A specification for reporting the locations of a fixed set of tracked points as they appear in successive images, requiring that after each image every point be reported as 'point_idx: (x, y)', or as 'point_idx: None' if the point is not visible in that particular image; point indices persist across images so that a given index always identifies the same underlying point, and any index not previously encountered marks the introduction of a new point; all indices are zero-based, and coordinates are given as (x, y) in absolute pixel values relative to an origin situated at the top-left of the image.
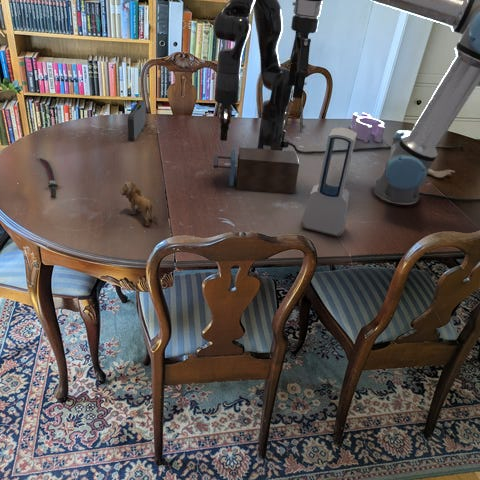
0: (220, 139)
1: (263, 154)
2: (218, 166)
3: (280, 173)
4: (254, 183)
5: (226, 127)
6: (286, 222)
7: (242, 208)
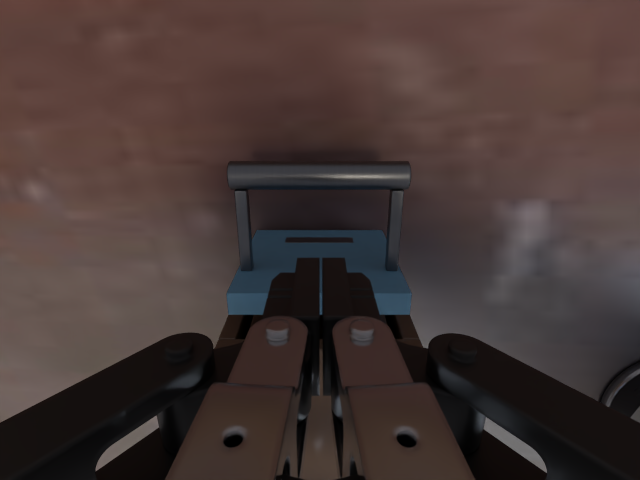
0: (298, 260)
1: (323, 471)
2: (235, 194)
3: None
4: None
5: (158, 439)
6: None
7: (86, 276)
